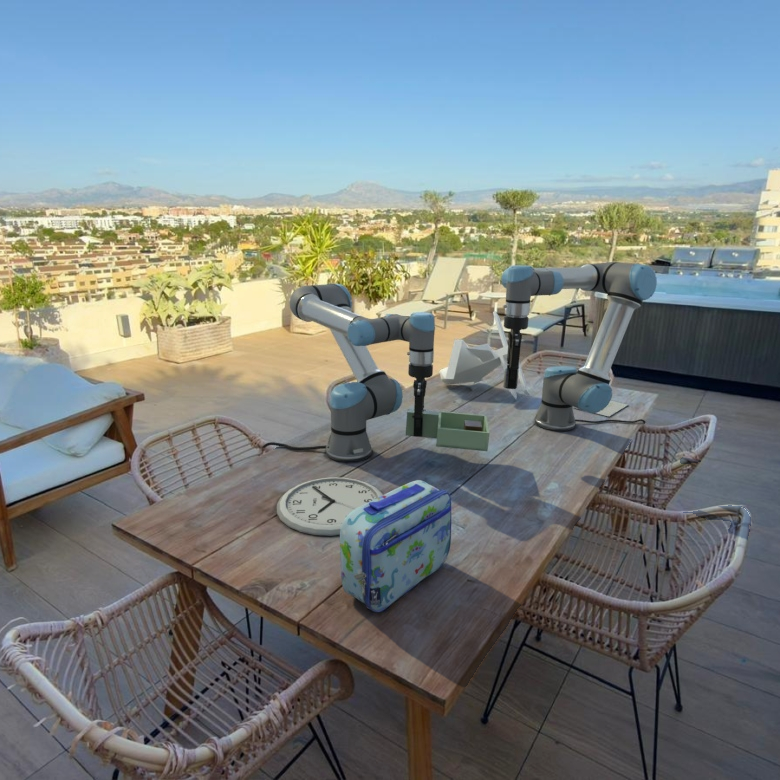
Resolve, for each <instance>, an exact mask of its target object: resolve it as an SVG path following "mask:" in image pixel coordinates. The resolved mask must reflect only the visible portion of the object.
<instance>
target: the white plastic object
mask: <svg viewBox="0 0 780 780" xmlns="http://www.w3.org/2000/svg"><path fill="white" fill-rule="evenodd" d="M492 315H493V319H494V321H495V324H496V325H495V326H496V328H497V332H498V335H499V338H500V342H501V345H502V347H500V348H498V349H496V350H495V349H493V348H492V347H491V346H490V344H489V343H488V342H487V343H483V344H479V345H473V346H469V345H468V343H466V342H465V340H464V339H463V338H460V339H458V338H454V340H453V344H452V349H451V353H450V357H449V362H448V366H446V367H444V368H442V369H440V370H439V371H438V372H439V376H440V381H442V383H443V384H444V385H445V386H449V385H458V384H467V383H468V384H469V383H473V384H477V383H480V382H482V381H484V378H485V377H486V376H487V375H489V374H490V373H492V372H494V371H495V370H496V369H497V368H499V367H500V366H502V370H503V373H504V374H505V369H506V368H507V365H508V364H507V354H508V340H507V337H506V334H505V331H504V326H503V325H502V321H501V318H500V315H499V314H498V312H497V311H496V310H495V311H492ZM522 368H523V367H522V366H521V362H520V361H519V369H518V370H519V372H518V380H519V382H520V385H521V389H522V391H523V393H524V395H525V396H526V397H528V396H531V395H530V390H529V388H528V387H529V386H528V384H527V381H526V378H525V375H524V371H523V369H522ZM508 390H509V393H510V394H511V395H512V397H513V398H514V399H515V400H517V392H516V391H517V390H516V389H508Z"/></svg>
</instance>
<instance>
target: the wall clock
mask: <svg viewBox="0 0 780 780" xmlns="http://www.w3.org/2000/svg"><path fill="white" fill-rule="evenodd" d="M384 494H385V493H383V492H382V491H381V490H380V489H379V488H377V487H376V486H374V485H372V484H371V483H369V482H365V481H362V480H359V479H355V478H349V477H338V476H337V477H335V476H333V477H332V476H331V477H322V478H317V479H312V480H307V481H305V482H302V483H299V484H297V485H295V486H293V487H292V488H290V489H288V490H287V491H286V492H285V493H284V494H283V495H281V496H280V498H279V499H278V502H277V503H276V515H277V517H278V518H279V520H280V521H281V522H282V523H283V524H285V525H286V526H287V527H288V528H290V529H293V530H295V531H297V532H299V533H303V534H308V535H312V536H327V537H328V536H329V537H331V536H332V537H333V536H340V530H341V526H342V523H343V521H344V519H345V518H346V516H347V515H348V514H349V513H350V512H351V511H353V510H354V509H356V508H358V507H360V506H362V505H364V504H366V503H368V502H370V501H372V500H374V499H376V498H378V497H380V496H382V495H384Z"/></svg>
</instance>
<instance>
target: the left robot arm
mask: <svg viewBox="0 0 780 780" xmlns="http://www.w3.org/2000/svg"><path fill="white" fill-rule="evenodd" d="M352 307H353V301H352V295H351V292H350V291H349V290H348V288H347V287H345V285H343V284H340V283H333V282H331V283H330V282H329V283H325V284H311V285H307V284H306V285H303V286H300V287H297V288H296V289H295V290H294V291H293V292H292V294H291V296H290V298H289V308H290V311H291V313H292V315H293V316H295V317H296V318H297V319H299V320H301V321H303V322H305V323H310V322H313V323H315V324H318V325H320V326H322V327H325V328H327V329H329V330H330V332H331V334H332V336H333V338H334V340H335V342H336V343H337V346H338V347H339V350H340V351H341V354H342V356H343V357H344V359H345V361H346V363H347V364H348V366H349V368H350V370H351V372H352V374H353V377H354V378H355V380H356V381H351V382H344V383H341V384H338V385H336V386H335V387H334V388H333V389H332V390H331V393H330V401H329V406H330V434H329V437H328V439H327V443H326V444H325V445H314V446H292V445H289V444H286V443H281V442H276V441H270V442H266V443H264V444H263V445H262V447H261V448H262V449H265V448H267V447H269V446H277V447H283V448H287V449H289V450H293V451H312V450H322V449H325V454H326V456H327V458H329V459H330V460H332V461H335V462H340V463H357V462H361V461H363V460H366V459H368V458H370V456H372V453H373V452H372V450H373V448H372V444H371V443H370V439H369V438H370V437H369V435H368V433H367V421H369V420H372V419H373V420H374V419H376V418H379V417H383V416H388V415H390V414H392V413H395V412H397V411H398V410H399V409H400V407H401V406H402V403H403V398H404V393H403V388H402V386H401V384H400V382H399V381H398V380H396V379H394V378H389V377H388V375H387V373H386V371H384V370H381V369H379V367H378V365H377V363H376V362H375V360H374V358H373V356H372V354H371V352H370V350H369V349H368V347H367V346H370V345H371V346H372V345H377V344H381V343H388V342H394V341H403V342H407V343H408V351H407V352H406V355H407V356H408V362H409V363H408V370H407V371H408V373H407V374H408V376H409V377H411V378H414V380H413V385H412V387H413V397H414V403H413V404H414V408H413V410H414V415H412V418H414V436H413V437H416V438H417V437H418V438H423V437H422V427H423V415H422V413H423V411H427V410H426V409H424V408H425V396H426V391H427V390H426V389H427V382H428V380H426V379H429V378H431V377H433V372H434V365H433V363H434V359H435V358H434V356H435V352H434V351H435V350H434V349H435V347H434V346H435V333H436V332H435V331H436V323H435V322H436V321H435V320H436V319H435V315H434V314H433V313H431V312H425V311H424V312H423V311H417V312H412V313H410V315H409V316H405V315H401V314H397V313H388V314H386V315H384V316H383V317H375V318H368V317H366V316H362V315H360V314H357V313H355V312H352Z"/></svg>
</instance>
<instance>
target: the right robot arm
mask: <svg viewBox="0 0 780 780" xmlns="http://www.w3.org/2000/svg"><path fill="white" fill-rule="evenodd" d="M656 275H657V274H656V272H655V270H654V269H653V268H652V266H651V265H650V266H649V265H648V264H642V263H638V262H637V263H636V262H635V263H631V262H619V261H608V262H599V263H586V264H582V266H573V267H571V266H568V267H567V266H566V267H564V266H563V267H533V266H532V265H525V264H523V265H521V264H520V265H519V264H518V265H517V264H515V265H514V264H513V265H510V266H509V267H508V268H506V269H505V270H503V272H502V274H501V278H500V279H501V280H500V282H501V285H502V286H503V288H505V290H506V291H505V304H503V305H502V307H503V308H504V317H503V328H505V329H506V330H507V329H508V330H510V331H508V333H507V339H508V340H507V344H508V354H507V370H509V371H508V384H507V388H506V389H507V390H509V389H515V390H517V388H516V381H517V370H518V369H519V362H520V356H521V346H522V340H523V335H522V333H521V331H522V330H523V331H524V330H526V329H528V328H529V319H530V318H529V317H528V316H529V315H530V309H531V298H532V297H536V296H537V297H538V296H553V295H558V294H559V293H560V292H561V291H562V290H574V289H575V290H576V289H580V290H582V291H583V292H596V293H600V294H604V295H606V298H607V301H608V305H607V307H606V310H605V312H604V315H603V317H602V320H601V322H600V325H599V327H598V330H597V333H596V335H595V337H594V340H593V343H592V346H591V347H590V350H589V353H588V355H587V358H586V360H585V363H584V365H583V366H582V367H580V368H578V369H577V367H574V366H566V365H565V366H564V365H559V366H558V365H557V366H550V367H547V368H546V369H545V370H544V375H543V381H542V392H541V402H540V405H539V407H538V410H537V411H536V413H535V415H534V424H535V425H536V426H537V427H539V428H542V429H544V430H549V431H556V432H567V431H572V430H574V429H575V428H576V422H579V423H588V424H601V423H607V422H608V423H609V422H612V423H613V422H615V423H616V422H617V423H627V424H635V423H639V422H643V423H647V421H645V420H644V419H642V418H640V419H636V420H621V419H602V420H585V419H576V418H575V417H576V416H575V413H574V407H576V408H578V409H577V410H580V411H582V412H586V413H589V414H596V413H597V412H600V411H601V410H603V409H604V408H605V407H606V406H607V405H608V404H609V402H610V401H612V398H613V388H612V386H611V385H610V383H611V377H610V375H609V373H610V371H611V369H612V366H613V363H614V361H615V358H616V356H617V353H618V351H619V348H620V346H621V344H622V341H623V338H624V336H625V333H626V332H627V329H628V326H629V324H630V321H631V319H632V316H633V314H634V311H635V310H636V309H639V308H641V307H642V304H643V301H646V300H649V299H650V298H652V297H653V296H654V294H655V292H656V289H657V285H658V280H657V276H656ZM576 408H575V409H576Z"/></svg>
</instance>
